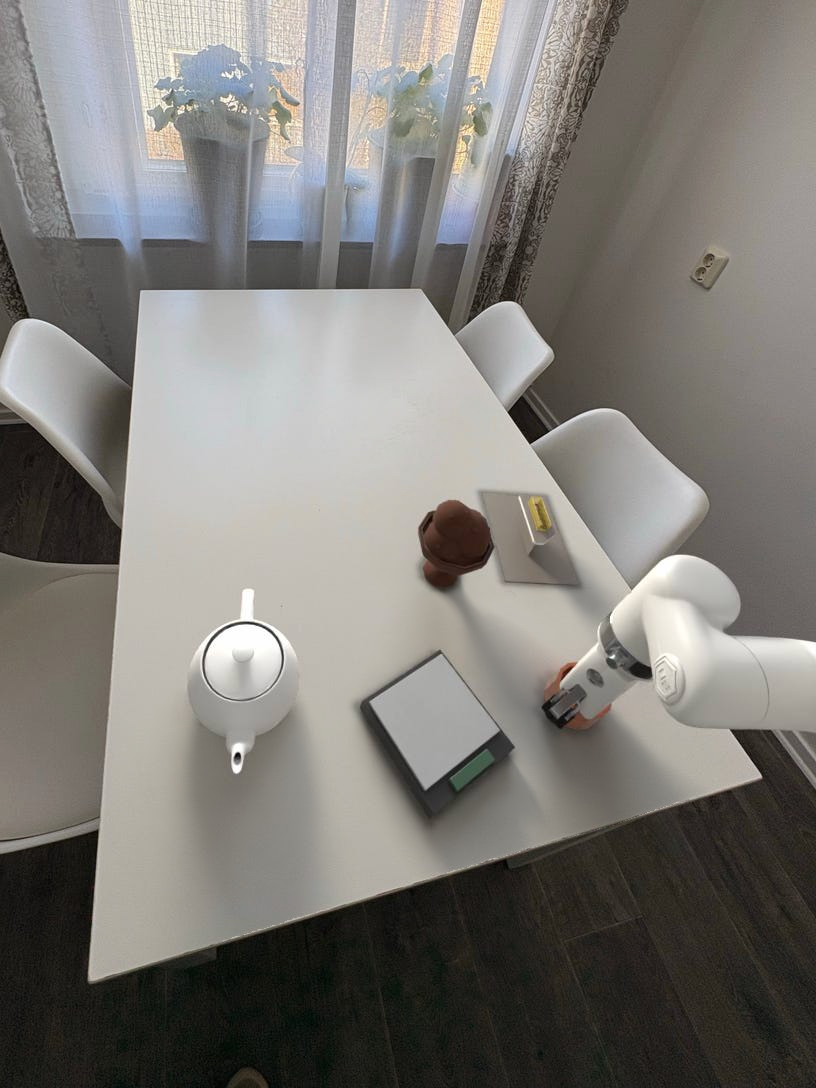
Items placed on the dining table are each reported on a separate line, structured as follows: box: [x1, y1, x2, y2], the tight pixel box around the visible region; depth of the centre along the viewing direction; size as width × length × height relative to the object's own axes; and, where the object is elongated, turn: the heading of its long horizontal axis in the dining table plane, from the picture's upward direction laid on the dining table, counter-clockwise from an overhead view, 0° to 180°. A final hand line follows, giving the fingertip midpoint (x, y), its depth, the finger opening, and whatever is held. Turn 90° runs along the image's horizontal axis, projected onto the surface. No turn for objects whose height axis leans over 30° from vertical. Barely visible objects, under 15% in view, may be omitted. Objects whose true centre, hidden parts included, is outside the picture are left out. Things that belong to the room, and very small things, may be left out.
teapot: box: [186, 588, 301, 775], centre depth 63 cm, size 22×14×11 cm, turn 4°
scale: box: [359, 649, 516, 820], centre depth 65 cm, size 14×13×3 cm
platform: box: [482, 492, 579, 586], centre depth 88 cm, size 12×18×7 cm, turn 1°
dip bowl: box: [543, 661, 613, 730], centre depth 69 cm, size 7×7×5 cm
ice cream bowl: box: [417, 499, 495, 589], centre depth 78 cm, size 11×11×15 cm
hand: (570, 700), depth 70 cm, fingers closed on dip bowl, 7 cm apart
